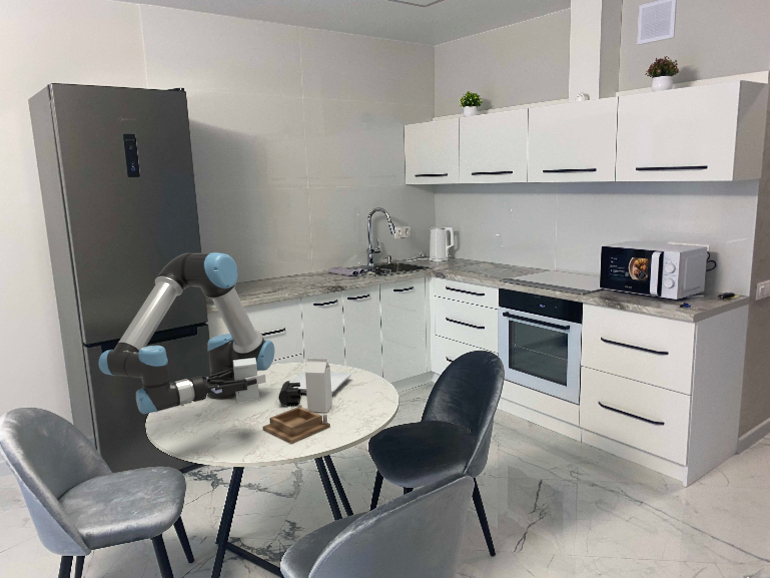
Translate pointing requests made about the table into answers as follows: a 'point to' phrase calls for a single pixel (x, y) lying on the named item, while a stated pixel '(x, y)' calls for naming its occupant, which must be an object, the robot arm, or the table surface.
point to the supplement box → (246, 370)
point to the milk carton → (318, 385)
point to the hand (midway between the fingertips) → (259, 374)
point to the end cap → (290, 394)
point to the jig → (296, 424)
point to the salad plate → (336, 380)
